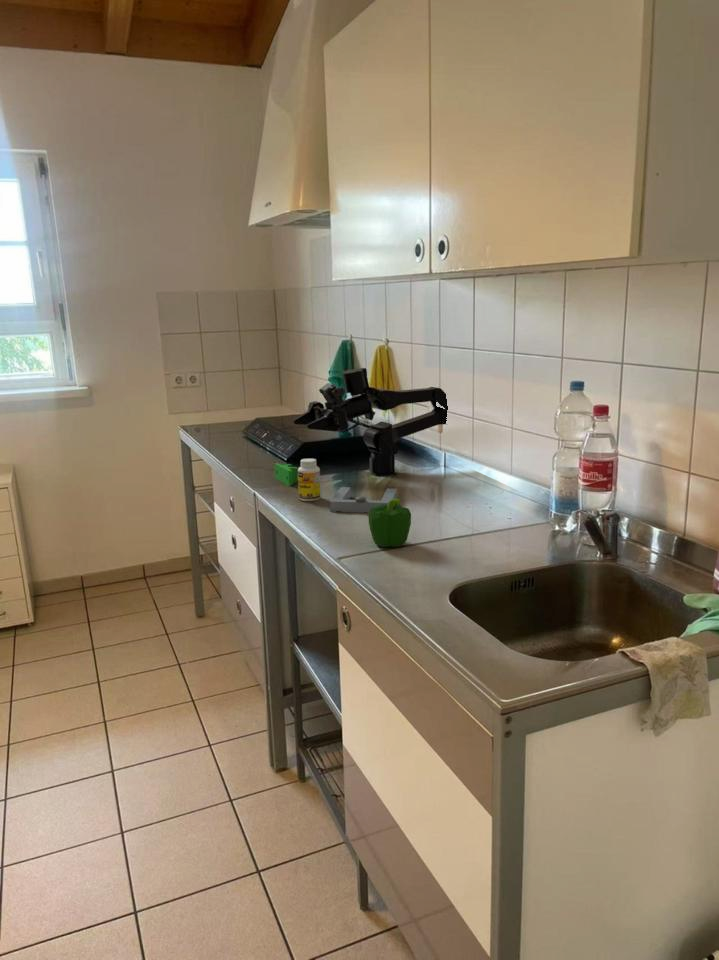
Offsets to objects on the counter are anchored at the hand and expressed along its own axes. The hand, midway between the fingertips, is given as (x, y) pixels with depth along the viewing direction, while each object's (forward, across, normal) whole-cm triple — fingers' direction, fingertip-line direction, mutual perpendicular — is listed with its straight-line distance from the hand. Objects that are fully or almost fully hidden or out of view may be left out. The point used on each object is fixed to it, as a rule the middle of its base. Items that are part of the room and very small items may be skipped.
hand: (300, 424), depth 197 cm
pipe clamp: (+6, -5, +16) cm, 18 cm away
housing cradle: (-1, +28, +17) cm, 33 cm away
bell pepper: (+8, +58, +16) cm, 60 cm away
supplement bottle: (+8, +16, +16) cm, 24 cm away
